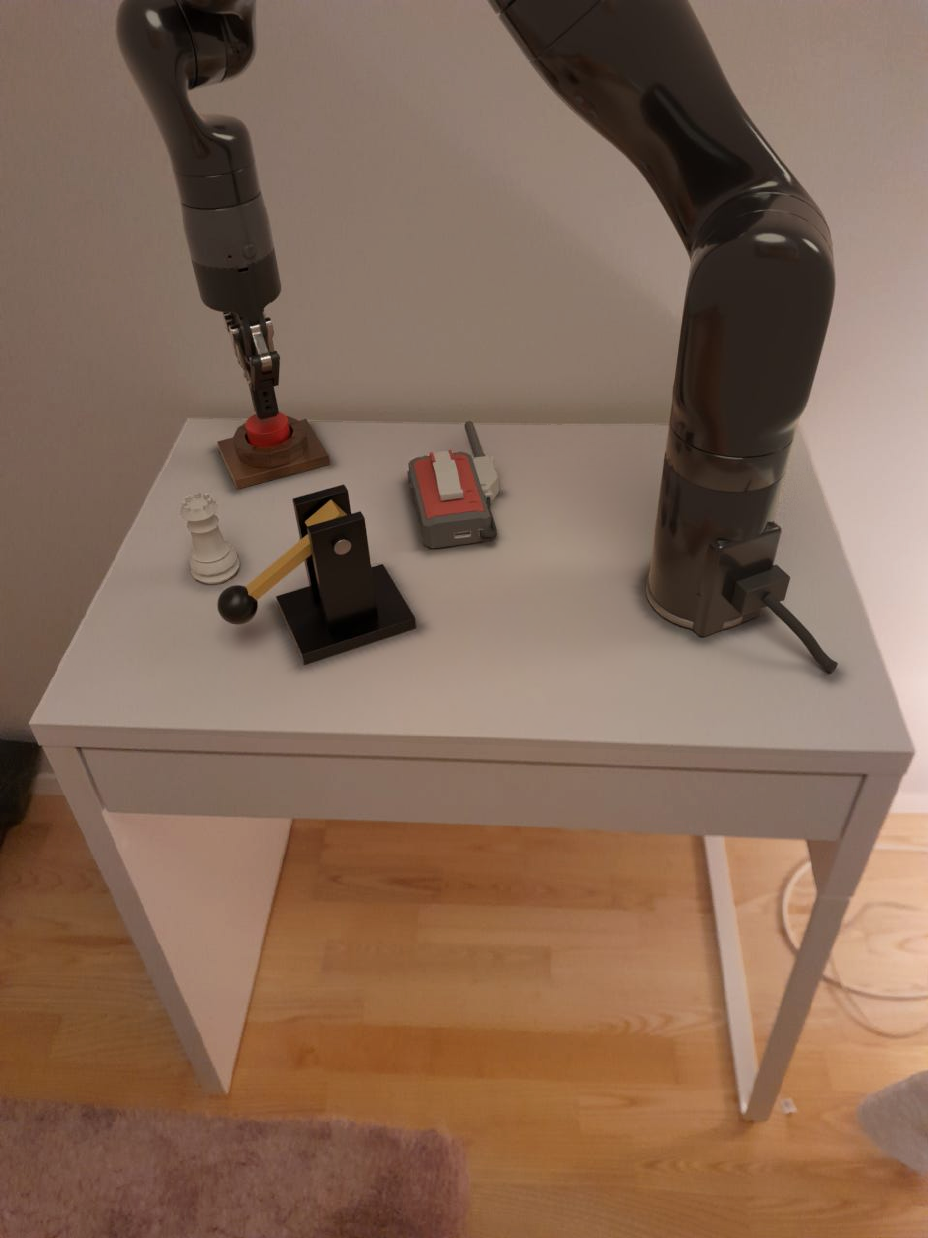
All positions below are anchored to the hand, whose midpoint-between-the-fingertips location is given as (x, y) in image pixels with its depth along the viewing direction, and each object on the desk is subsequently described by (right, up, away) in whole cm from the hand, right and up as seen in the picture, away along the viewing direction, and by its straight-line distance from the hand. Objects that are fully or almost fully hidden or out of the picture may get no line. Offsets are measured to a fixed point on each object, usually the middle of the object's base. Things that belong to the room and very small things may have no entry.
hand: (267, 414), depth 97 cm
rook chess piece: (-3, -17, -10) cm, 20 cm away
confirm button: (0, -2, +2) cm, 3 cm away
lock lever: (+7, -18, -20) cm, 27 cm away
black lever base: (+10, -21, -15) cm, 28 cm away
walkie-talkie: (+19, -8, -2) cm, 21 cm away
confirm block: (0, -4, +4) cm, 5 cm away
